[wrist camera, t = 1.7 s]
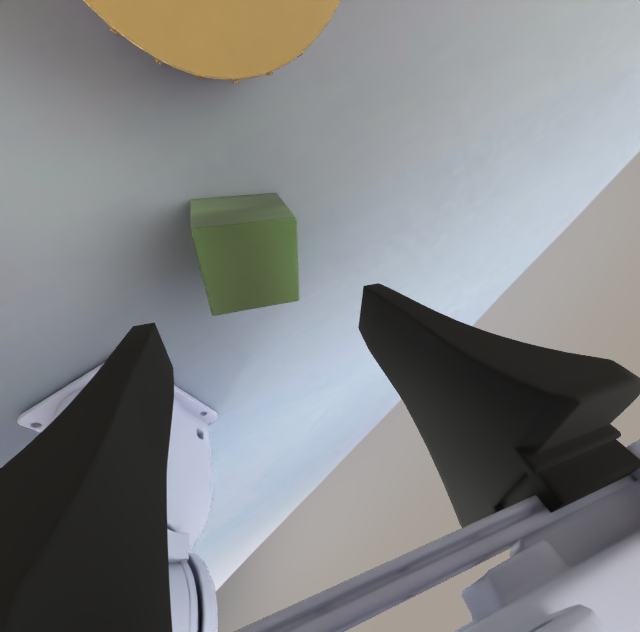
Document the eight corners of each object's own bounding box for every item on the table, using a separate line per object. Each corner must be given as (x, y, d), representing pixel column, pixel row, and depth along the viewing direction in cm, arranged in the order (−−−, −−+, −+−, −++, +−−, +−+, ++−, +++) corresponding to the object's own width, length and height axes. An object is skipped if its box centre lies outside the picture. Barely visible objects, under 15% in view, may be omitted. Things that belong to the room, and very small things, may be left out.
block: (277, 192, 16) (297, 218, 13) (282, 266, 19) (299, 301, 16) (189, 199, 15) (189, 228, 12) (208, 276, 18) (212, 316, 15)
